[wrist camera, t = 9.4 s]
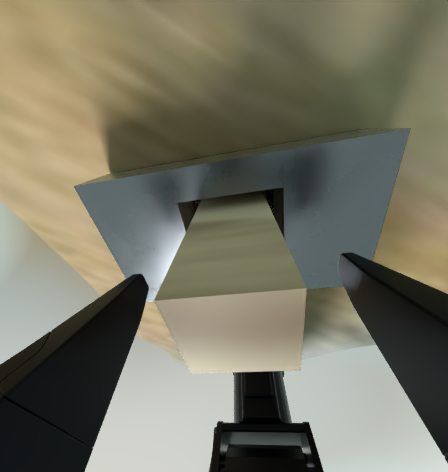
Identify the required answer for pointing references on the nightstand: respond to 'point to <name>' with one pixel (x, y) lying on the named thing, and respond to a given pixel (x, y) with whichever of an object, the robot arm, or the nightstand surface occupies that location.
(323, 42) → the nightstand surface
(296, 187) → the grey slotted block
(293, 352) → the ash peg
